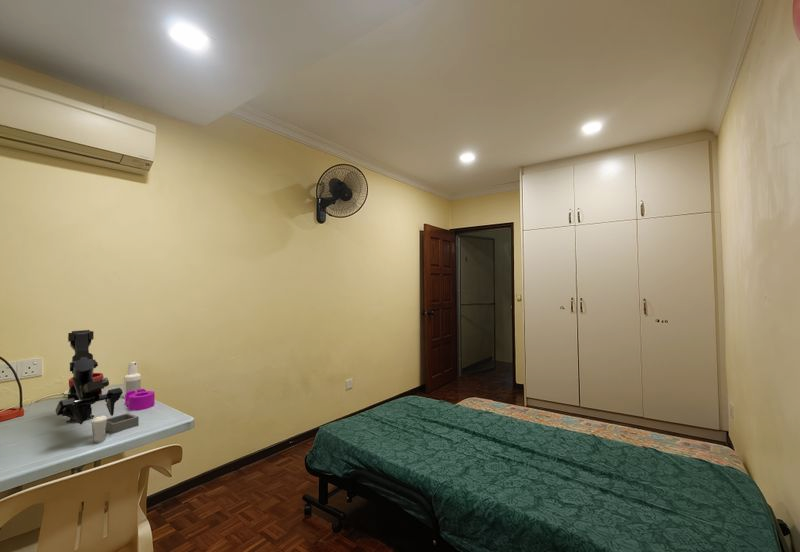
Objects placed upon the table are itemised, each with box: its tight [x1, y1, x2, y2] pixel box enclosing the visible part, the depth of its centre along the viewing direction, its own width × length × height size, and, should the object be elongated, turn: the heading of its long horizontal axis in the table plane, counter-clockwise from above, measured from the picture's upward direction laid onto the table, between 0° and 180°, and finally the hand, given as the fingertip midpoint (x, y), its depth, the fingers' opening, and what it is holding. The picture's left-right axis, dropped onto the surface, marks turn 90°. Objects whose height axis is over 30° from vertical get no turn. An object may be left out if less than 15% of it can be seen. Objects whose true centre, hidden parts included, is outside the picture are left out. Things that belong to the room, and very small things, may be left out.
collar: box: [106, 412, 139, 435], centre depth 142 cm, size 9×9×4 cm
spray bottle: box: [123, 361, 142, 399], centre depth 181 cm, size 7×7×18 cm
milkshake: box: [90, 414, 108, 444], centre depth 130 cm, size 4×5×10 cm
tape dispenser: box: [124, 388, 156, 412], centre depth 168 cm, size 16×10×6 cm, turn 50°
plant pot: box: [68, 372, 104, 395], centre depth 177 cm, size 13×13×12 cm
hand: (97, 419), depth 130 cm, fingers open, 9 cm apart
